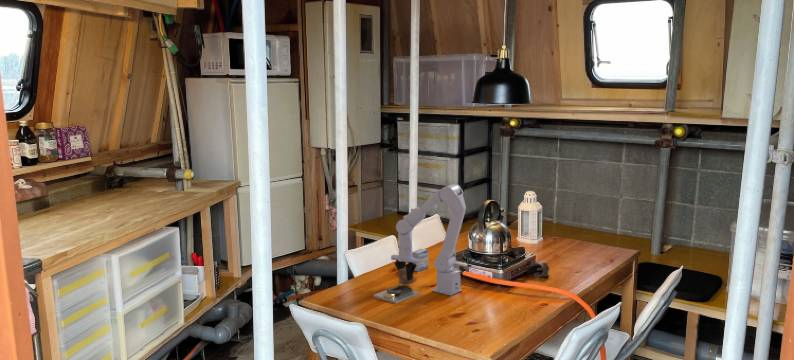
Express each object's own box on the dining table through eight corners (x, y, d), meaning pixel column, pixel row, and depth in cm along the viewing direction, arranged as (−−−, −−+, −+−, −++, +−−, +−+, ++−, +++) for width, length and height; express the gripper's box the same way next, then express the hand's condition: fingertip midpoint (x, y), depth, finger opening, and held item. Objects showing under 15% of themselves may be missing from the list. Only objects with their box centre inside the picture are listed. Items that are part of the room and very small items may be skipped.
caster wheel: (527, 276, 277) (550, 274, 275) (527, 278, 266) (550, 276, 264) (525, 261, 278) (548, 259, 275) (525, 263, 267) (548, 260, 264)
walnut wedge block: (413, 282, 259) (412, 268, 258) (405, 285, 255) (405, 271, 254) (406, 280, 261) (406, 266, 260) (398, 283, 257) (398, 269, 257)
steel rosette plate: (418, 294, 248) (418, 288, 247) (396, 303, 237) (396, 298, 237) (396, 288, 255) (396, 283, 255) (373, 297, 245) (373, 291, 245)
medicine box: (418, 272, 278) (418, 253, 277) (410, 270, 281) (410, 252, 280) (428, 267, 284) (428, 249, 283) (420, 266, 287) (420, 248, 286)
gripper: (386, 246, 258) (386, 277, 260) (412, 252, 248) (413, 284, 250) (397, 243, 263) (397, 274, 265) (423, 248, 254) (423, 280, 255)
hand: (405, 278), depth 258 cm, fingers closed on walnut wedge block, 4 cm apart
